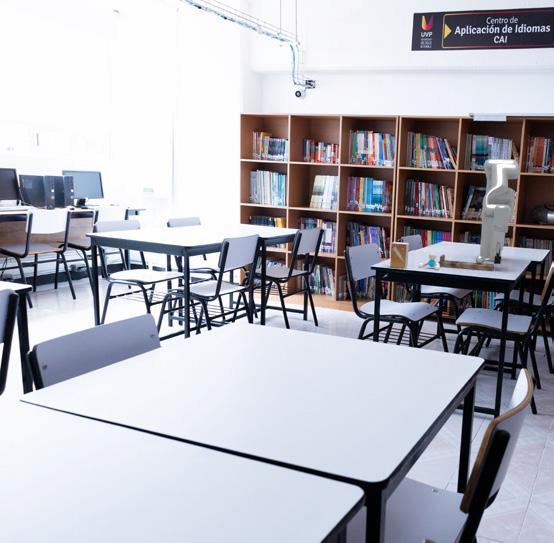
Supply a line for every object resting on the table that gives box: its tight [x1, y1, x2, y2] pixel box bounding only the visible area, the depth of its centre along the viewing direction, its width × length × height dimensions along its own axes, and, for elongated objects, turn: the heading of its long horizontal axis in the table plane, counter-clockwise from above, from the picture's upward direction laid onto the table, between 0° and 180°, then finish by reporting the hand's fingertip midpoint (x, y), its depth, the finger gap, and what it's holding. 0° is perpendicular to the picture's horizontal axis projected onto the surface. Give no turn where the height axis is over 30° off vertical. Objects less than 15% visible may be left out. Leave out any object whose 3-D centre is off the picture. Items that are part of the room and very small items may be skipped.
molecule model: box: [417, 252, 441, 271], centre depth 349 cm, size 12×12×9 cm
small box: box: [389, 241, 410, 269], centre depth 348 cm, size 8×6×13 cm
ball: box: [475, 255, 485, 264], centre depth 352 cm, size 4×4×4 cm
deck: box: [437, 254, 495, 272], centre depth 355 cm, size 28×10×6 cm, turn 68°
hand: (497, 263), depth 349 cm, fingers closed
